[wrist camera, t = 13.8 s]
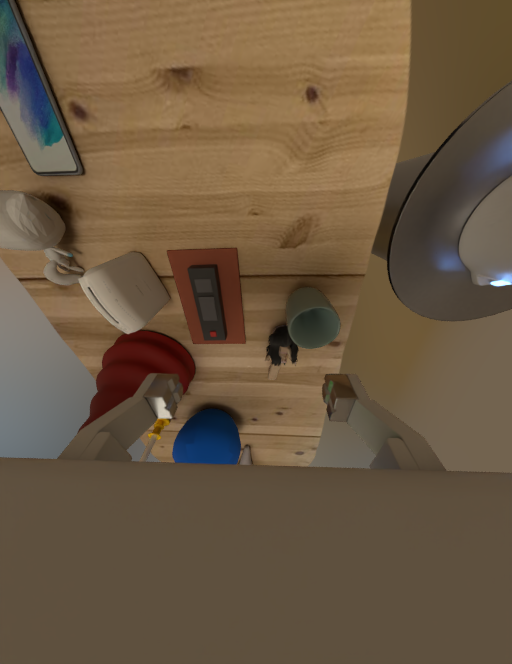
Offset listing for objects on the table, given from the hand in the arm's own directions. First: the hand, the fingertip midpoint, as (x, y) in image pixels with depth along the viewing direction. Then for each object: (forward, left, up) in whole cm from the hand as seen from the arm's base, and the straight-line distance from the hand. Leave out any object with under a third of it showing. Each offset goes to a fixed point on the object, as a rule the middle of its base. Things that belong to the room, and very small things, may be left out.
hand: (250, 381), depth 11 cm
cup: (-8, +8, -27) cm, 30 cm away
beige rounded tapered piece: (+34, -4, -27) cm, 44 cm away
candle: (+34, +50, -27) cm, 66 cm away
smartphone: (+28, -20, -27) cm, 44 cm away
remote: (+10, +8, -27) cm, 30 cm away
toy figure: (-4, +20, -27) cm, 34 cm away
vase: (+16, +48, -27) cm, 58 cm away
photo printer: (+21, +3, -27) cm, 35 cm away
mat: (+10, +8, -27) cm, 30 cm away
